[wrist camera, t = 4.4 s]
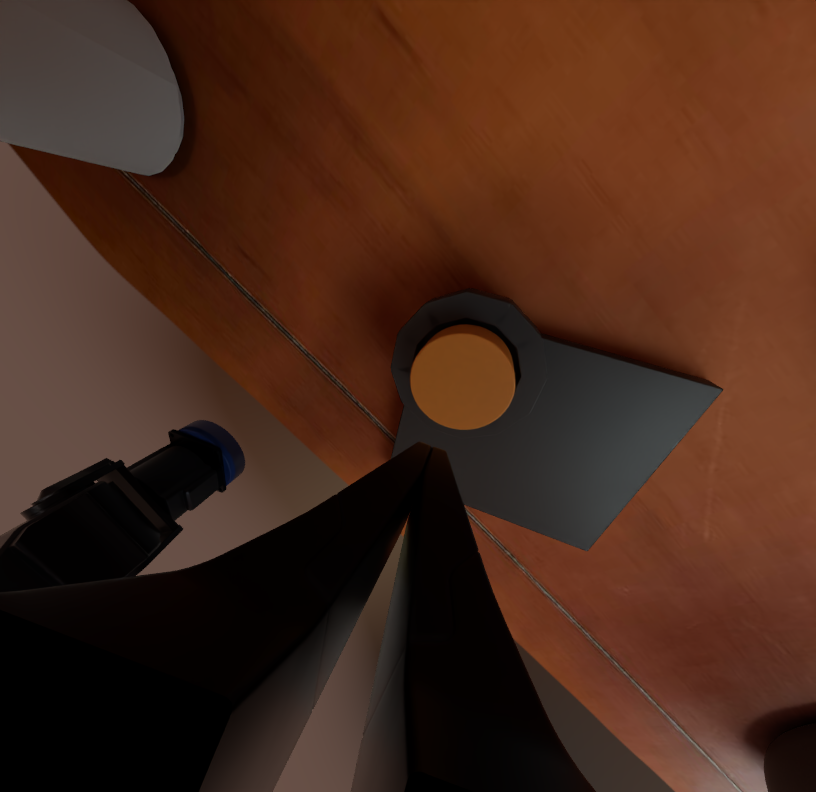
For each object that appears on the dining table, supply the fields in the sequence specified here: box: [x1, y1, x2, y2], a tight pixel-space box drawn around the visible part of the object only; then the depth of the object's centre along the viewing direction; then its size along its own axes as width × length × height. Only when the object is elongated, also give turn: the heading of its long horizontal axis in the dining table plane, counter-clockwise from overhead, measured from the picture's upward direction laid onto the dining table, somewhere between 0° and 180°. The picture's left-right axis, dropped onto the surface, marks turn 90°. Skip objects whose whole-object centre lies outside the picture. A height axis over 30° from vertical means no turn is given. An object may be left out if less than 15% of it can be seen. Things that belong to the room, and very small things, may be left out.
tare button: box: [410, 324, 516, 430], centre depth 15 cm, size 5×5×2 cm
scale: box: [391, 288, 723, 551], centre depth 18 cm, size 16×14×3 cm
